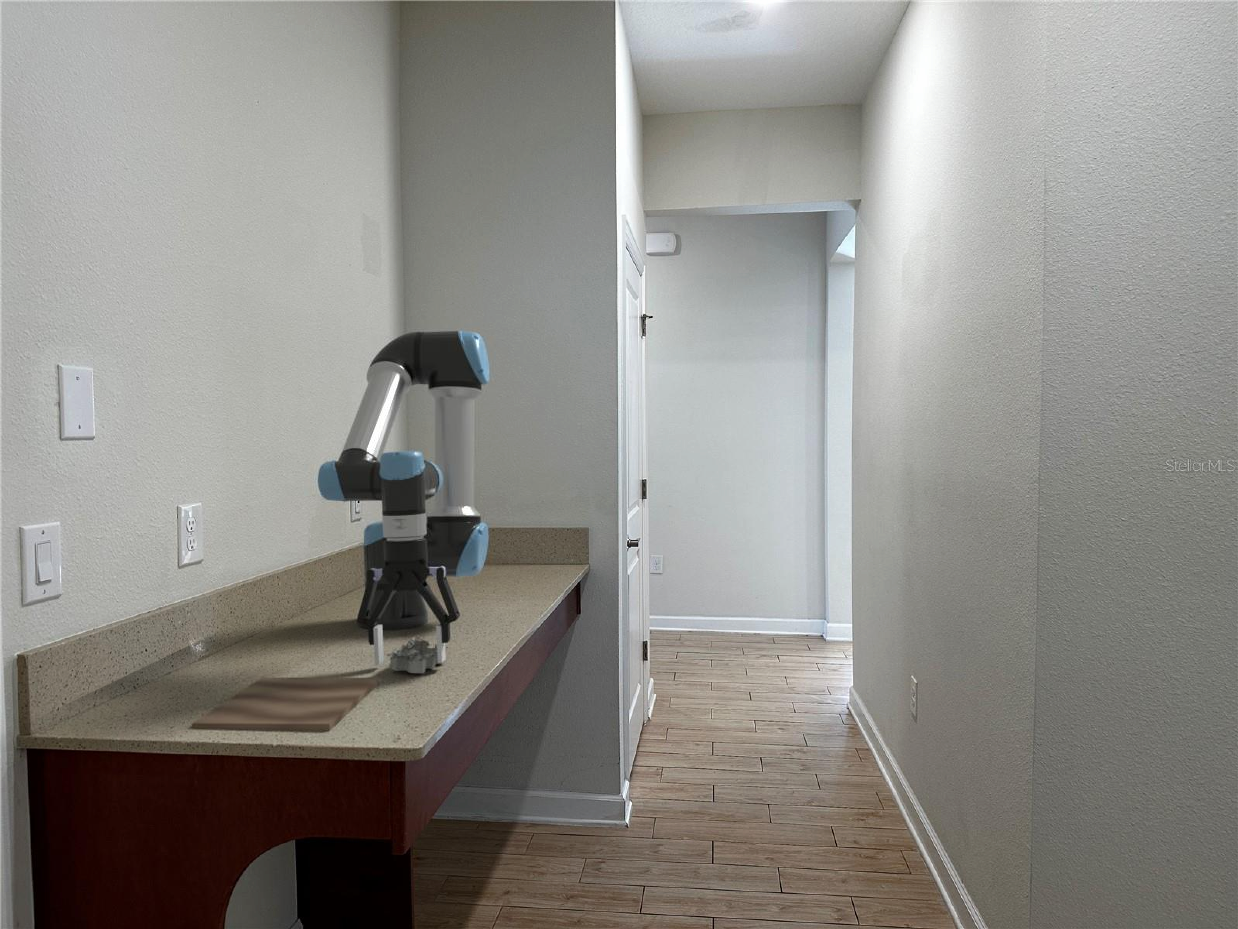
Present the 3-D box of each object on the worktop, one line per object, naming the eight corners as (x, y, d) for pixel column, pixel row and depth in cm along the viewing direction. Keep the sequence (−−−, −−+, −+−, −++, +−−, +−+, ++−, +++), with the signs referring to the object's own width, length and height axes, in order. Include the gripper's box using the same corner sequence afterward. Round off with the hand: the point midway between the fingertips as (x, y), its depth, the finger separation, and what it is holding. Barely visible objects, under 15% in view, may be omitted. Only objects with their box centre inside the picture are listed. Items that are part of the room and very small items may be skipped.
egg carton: (417, 655, 159) (419, 634, 159) (451, 662, 156) (453, 640, 156) (381, 668, 149) (383, 645, 149) (417, 676, 146) (419, 653, 146)
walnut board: (262, 684, 144) (261, 677, 144) (378, 684, 143) (378, 677, 143) (192, 731, 122) (192, 723, 122) (329, 732, 121) (329, 723, 121)
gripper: (333, 542, 148) (339, 669, 148) (465, 538, 147) (470, 665, 147) (348, 537, 155) (353, 658, 156) (474, 533, 154) (478, 654, 155)
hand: (410, 661), depth 152 cm, fingers open, 10 cm apart
